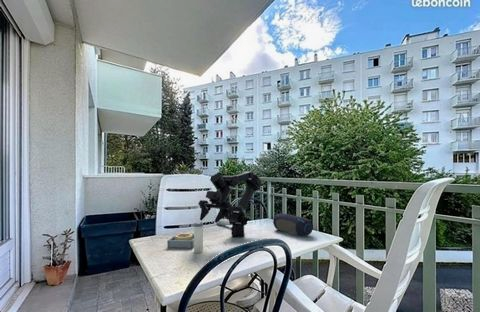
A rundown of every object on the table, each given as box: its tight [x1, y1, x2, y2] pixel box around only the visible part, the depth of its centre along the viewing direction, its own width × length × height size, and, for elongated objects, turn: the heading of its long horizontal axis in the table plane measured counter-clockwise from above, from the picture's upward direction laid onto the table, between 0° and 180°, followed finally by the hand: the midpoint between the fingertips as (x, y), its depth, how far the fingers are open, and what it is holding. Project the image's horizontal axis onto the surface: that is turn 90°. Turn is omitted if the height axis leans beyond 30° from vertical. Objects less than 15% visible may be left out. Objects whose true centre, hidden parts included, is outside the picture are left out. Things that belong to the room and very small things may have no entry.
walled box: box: [166, 232, 194, 250], centre depth 127 cm, size 12×12×4 cm
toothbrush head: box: [215, 218, 233, 226], centre depth 163 cm, size 5×7×25 cm
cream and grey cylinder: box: [193, 221, 204, 254], centre depth 116 cm, size 4×4×12 cm
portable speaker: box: [272, 212, 314, 237], centre depth 147 cm, size 25×10×10 cm, turn 35°
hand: (207, 221), depth 122 cm, fingers open, 9 cm apart
